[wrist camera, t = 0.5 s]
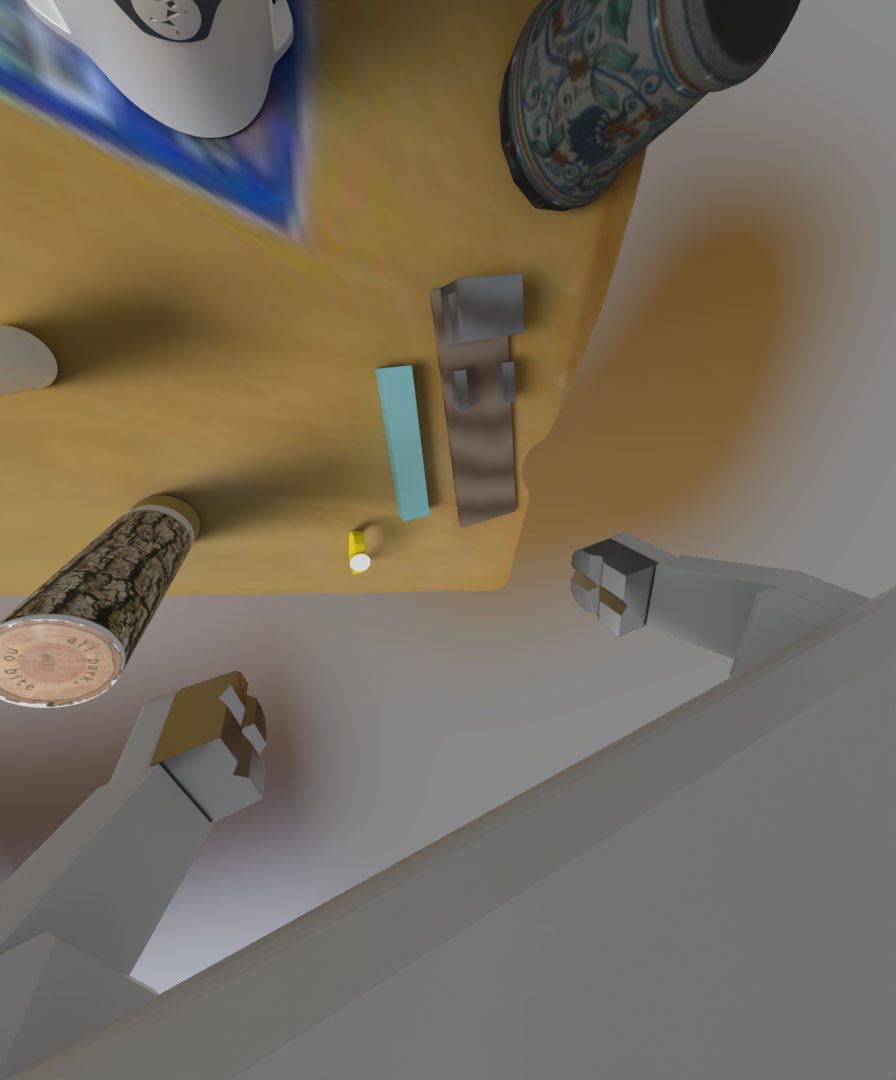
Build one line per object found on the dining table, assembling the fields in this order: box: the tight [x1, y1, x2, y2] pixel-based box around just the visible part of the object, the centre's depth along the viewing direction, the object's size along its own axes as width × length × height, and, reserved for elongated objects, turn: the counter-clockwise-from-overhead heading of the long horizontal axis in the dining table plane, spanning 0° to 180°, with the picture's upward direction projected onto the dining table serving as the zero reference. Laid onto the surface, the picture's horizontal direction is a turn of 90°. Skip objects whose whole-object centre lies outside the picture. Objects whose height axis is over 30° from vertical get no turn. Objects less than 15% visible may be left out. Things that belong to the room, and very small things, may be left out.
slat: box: [375, 365, 430, 521], centre depth 49 cm, size 20×4×3 cm, turn 5°
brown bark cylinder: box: [0, 495, 200, 708], centre depth 32 cm, size 7×7×25 cm
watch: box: [349, 531, 371, 574], centre depth 51 cm, size 6×3×6 cm, turn 172°
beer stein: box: [499, 0, 801, 211], centre depth 31 cm, size 16×19×25 cm
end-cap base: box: [430, 273, 524, 527], centre depth 50 cm, size 32×10×6 cm, turn 8°
